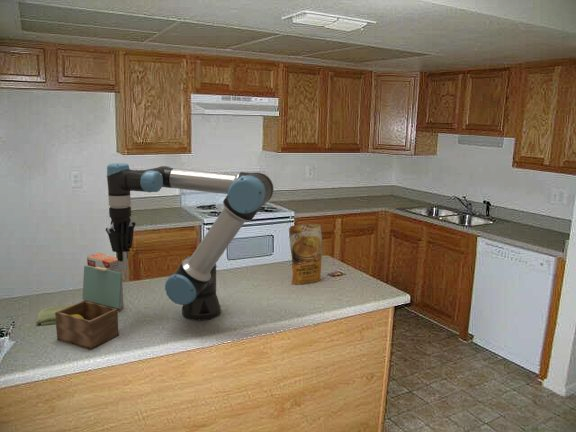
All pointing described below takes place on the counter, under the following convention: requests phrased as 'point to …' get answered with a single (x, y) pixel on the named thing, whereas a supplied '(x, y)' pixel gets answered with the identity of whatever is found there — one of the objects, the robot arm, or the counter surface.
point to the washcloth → (49, 315)
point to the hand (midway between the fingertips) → (123, 268)
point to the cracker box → (108, 263)
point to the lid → (102, 286)
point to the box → (87, 324)
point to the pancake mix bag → (306, 252)
